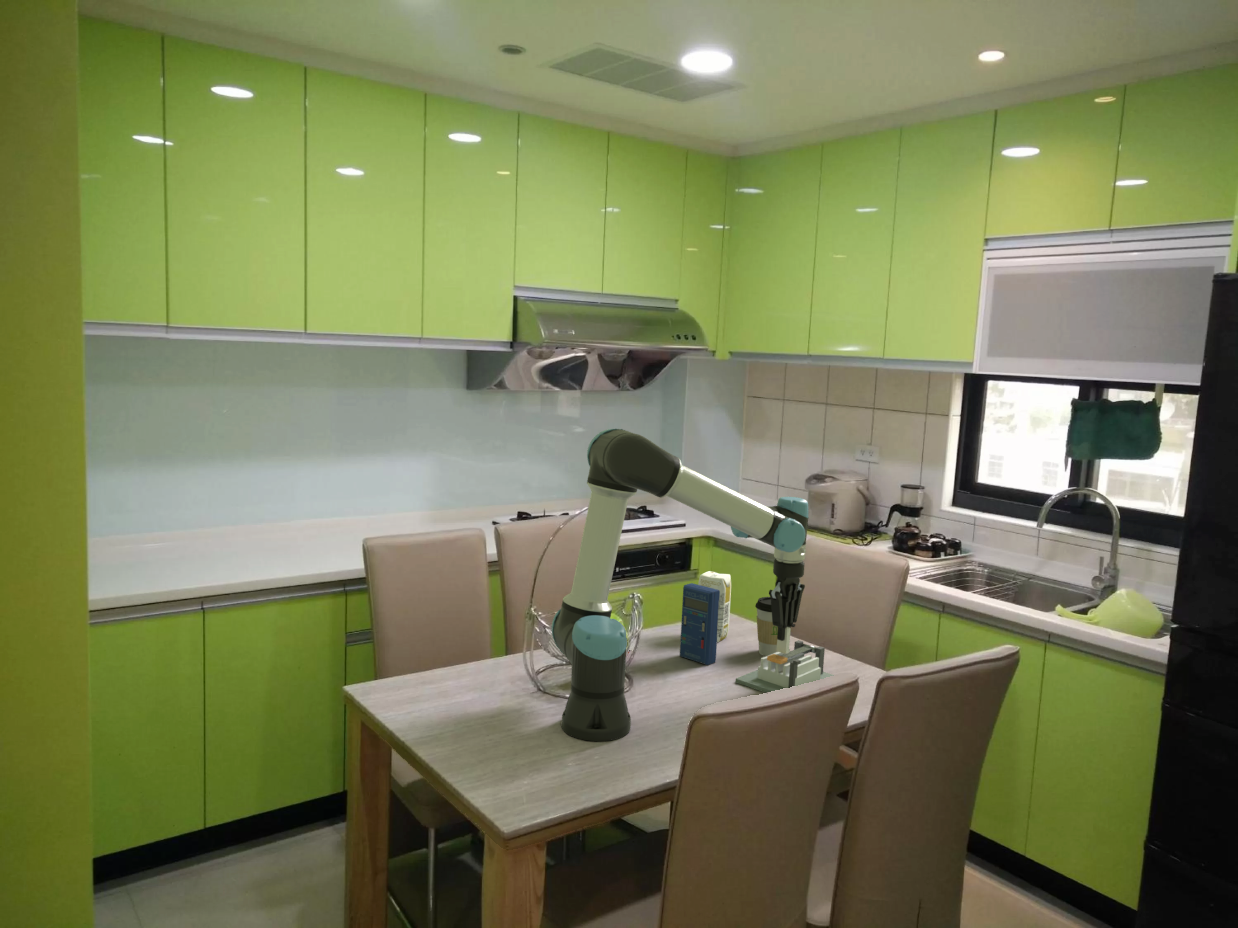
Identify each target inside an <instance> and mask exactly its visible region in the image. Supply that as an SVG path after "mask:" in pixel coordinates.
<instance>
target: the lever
mask: <svg viewBox="0 0 1238 928" xmlns="http://www.w3.org/2000/svg"><path fill="white" fill-rule="evenodd" d="M817 647H818V646H813V645H809V644H806V643H803V644H802V645H801V648H798V649H795V650H794V649H793V650H790V652H789V653H787V654H781V655H776V654H772V655H769V656H767V660H768V661H771V662H774V663H778V664H783V663H786V662H787V661H788V660H791V659H793V658H796V657H799V656H801V655H804V656H805V655H806V654H807V655H808V654H809V653H812V654H816V648H817Z"/></svg>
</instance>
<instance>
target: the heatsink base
mask: <svg viewBox="0 0 1238 928" xmlns="http://www.w3.org/2000/svg"><path fill="white" fill-rule="evenodd" d="M802 644H804V641H803V640H799V639H798V640H796V641H794V645H793V647H794V648H793V650H795V649H798V648H801V645H802ZM816 647H817V648H816V653H814V654H815V657H813V658H812V655H810V654H807V655H805V654H804V655H801V656H799V657H796V658H793V659H791V660H788V661H787V662H786V663H783V664H778V663H774V662H771V661H768V660H767V656H763V657H761V658H760V665H759V666H757V669H756V670H753V671H751V672H749V673H746V674H744V675H741V676H738V677H736V678H735V683H737V684H739V685H742V686H745V687H748V688H751V689H753V690H756V691H760V692H763V693H765V694H767V693H766V692H771V691H775V690H780V689H783V688H790V687H792V686H798V685H801V684H804V683H809V682H813V681H816V680H820V679H824V678H826V677H830V676H834V675H835V674H832V673H830V672H826V671H824V664H825V649H826V648H825V647H824V646H816ZM790 651H791V649H790V648H789V652H790ZM774 654H776V655H781V654H784V653H781V652H776V653H774ZM771 655H772V654H771ZM768 656H769V655H768Z"/></svg>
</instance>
